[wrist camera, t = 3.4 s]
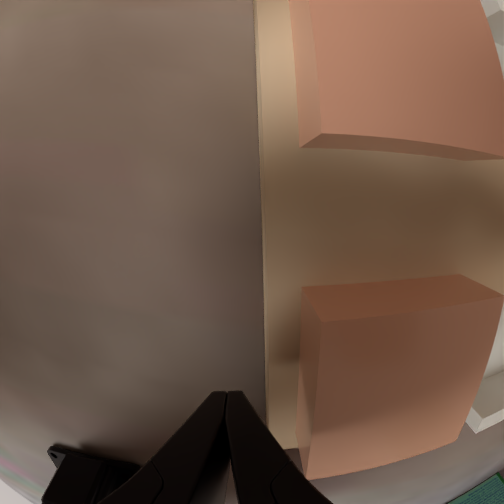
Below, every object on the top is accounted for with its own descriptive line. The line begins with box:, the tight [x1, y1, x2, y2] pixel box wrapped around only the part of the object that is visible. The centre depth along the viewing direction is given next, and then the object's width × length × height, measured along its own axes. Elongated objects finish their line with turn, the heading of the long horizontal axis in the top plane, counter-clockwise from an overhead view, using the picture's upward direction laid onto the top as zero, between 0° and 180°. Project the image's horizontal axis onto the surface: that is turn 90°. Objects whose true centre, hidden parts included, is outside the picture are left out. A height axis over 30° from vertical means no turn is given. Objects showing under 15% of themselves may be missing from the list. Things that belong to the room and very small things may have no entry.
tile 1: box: [295, 274, 504, 480], centre depth 9 cm, size 6×6×2 cm
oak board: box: [253, 0, 504, 449], centre depth 10 cm, size 18×10×2 cm, turn 2°
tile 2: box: [288, 0, 504, 161], centre depth 6 cm, size 6×6×2 cm
